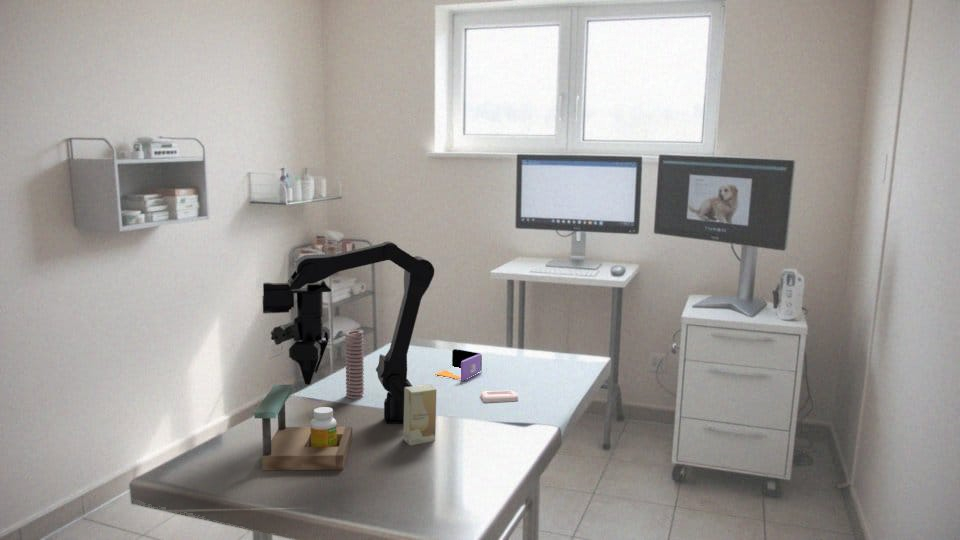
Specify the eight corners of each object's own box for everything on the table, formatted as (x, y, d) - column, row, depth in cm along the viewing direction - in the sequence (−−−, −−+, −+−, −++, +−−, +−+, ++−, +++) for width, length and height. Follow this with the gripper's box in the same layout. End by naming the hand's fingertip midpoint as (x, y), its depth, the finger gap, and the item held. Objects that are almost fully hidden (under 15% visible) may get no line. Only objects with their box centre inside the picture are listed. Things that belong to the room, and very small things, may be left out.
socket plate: (352, 437, 164) (352, 384, 162) (342, 471, 146) (341, 412, 144) (275, 438, 163) (274, 384, 161) (256, 472, 145) (254, 412, 143)
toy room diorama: (486, 376, 214) (487, 353, 213) (464, 386, 204) (464, 362, 202) (452, 369, 220) (452, 347, 219) (429, 379, 210) (429, 355, 209)
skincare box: (410, 446, 160) (410, 392, 158) (402, 439, 163) (402, 386, 162) (437, 441, 163) (437, 388, 161) (429, 435, 166) (429, 383, 164)
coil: (342, 398, 190) (341, 331, 188) (352, 393, 195) (351, 327, 192) (358, 401, 189) (357, 333, 186) (367, 396, 193) (366, 329, 190)
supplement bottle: (330, 460, 152) (330, 415, 150) (306, 457, 153) (305, 413, 151) (341, 450, 157) (340, 406, 156) (317, 447, 158) (316, 404, 157)
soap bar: (518, 405, 189) (518, 395, 189) (483, 406, 187) (484, 397, 187) (513, 398, 194) (514, 389, 194) (480, 399, 193) (480, 390, 192)
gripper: (282, 303, 174) (284, 366, 176) (264, 320, 156) (266, 391, 158) (329, 303, 175) (330, 366, 177) (317, 320, 156) (318, 391, 159)
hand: (311, 378), depth 168 cm, fingers open, 9 cm apart
